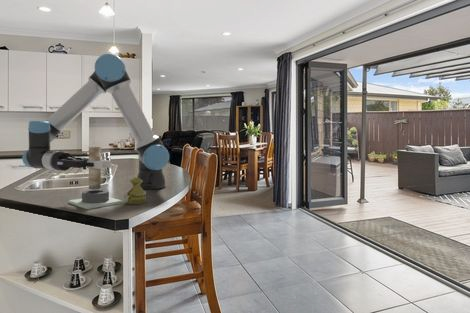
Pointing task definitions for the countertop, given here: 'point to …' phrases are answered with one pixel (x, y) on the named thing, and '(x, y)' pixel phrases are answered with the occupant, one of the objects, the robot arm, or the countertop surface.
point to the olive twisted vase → (136, 192)
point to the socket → (95, 199)
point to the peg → (94, 173)
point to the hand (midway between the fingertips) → (106, 164)
